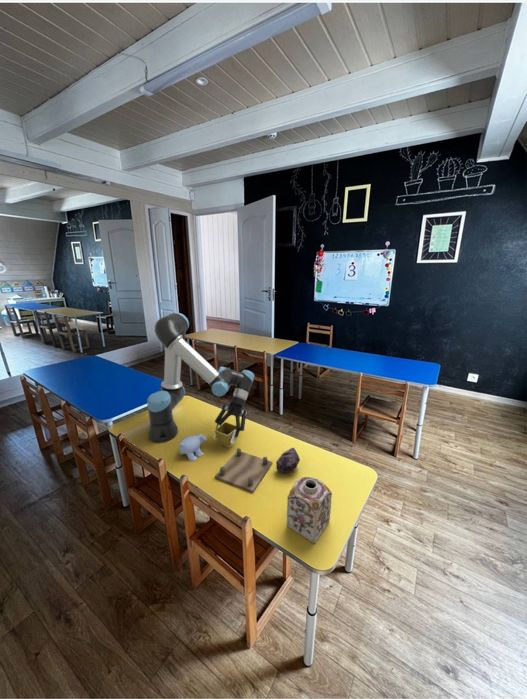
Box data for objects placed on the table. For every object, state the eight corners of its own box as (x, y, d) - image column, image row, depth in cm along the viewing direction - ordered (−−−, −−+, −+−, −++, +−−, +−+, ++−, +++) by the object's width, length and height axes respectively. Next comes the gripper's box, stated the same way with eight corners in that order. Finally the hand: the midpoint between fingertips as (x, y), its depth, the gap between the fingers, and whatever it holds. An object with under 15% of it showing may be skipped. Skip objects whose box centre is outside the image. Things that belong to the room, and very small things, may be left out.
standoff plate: (214, 478, 123) (214, 470, 122) (237, 452, 139) (237, 445, 138) (253, 493, 115) (252, 484, 114) (272, 463, 131) (272, 456, 130)
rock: (273, 471, 128) (291, 482, 122) (271, 457, 125) (290, 467, 118) (289, 455, 136) (306, 464, 130) (287, 441, 133) (305, 450, 126)
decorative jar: (330, 521, 103) (334, 481, 97) (315, 545, 94) (318, 503, 88) (302, 504, 110) (303, 466, 104) (285, 525, 101) (286, 485, 95)
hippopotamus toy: (212, 448, 142) (211, 432, 139) (188, 464, 131) (186, 447, 128) (198, 440, 149) (197, 424, 146) (174, 455, 138) (172, 438, 135)
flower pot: (228, 451, 139) (227, 435, 136) (215, 445, 143) (214, 430, 140) (239, 441, 146) (238, 426, 143) (226, 436, 150) (225, 421, 147)
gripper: (259, 405, 147) (245, 448, 139) (225, 396, 157) (209, 436, 148) (255, 400, 141) (239, 445, 133) (219, 391, 150) (202, 433, 142)
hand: (223, 440), depth 140 cm, fingers closed on flower pot, 9 cm apart
